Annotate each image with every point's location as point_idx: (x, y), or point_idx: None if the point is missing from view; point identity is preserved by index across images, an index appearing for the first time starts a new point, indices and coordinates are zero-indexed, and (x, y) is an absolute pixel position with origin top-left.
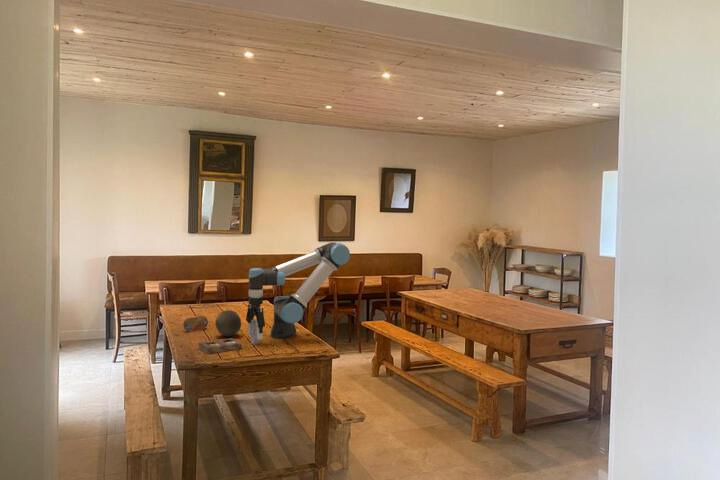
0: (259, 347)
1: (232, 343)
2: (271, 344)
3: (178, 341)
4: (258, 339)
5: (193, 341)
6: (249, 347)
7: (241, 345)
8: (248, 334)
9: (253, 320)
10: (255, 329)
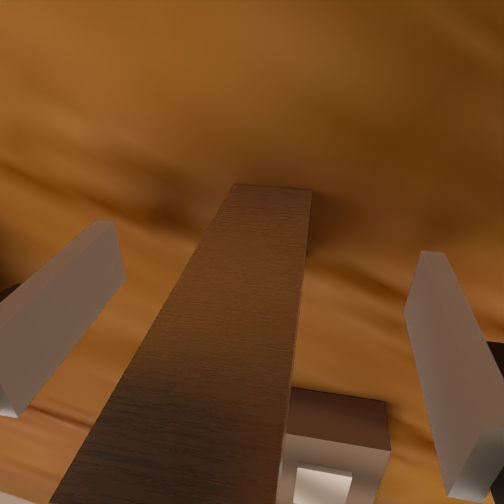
0: (473, 277)
1: (347, 491)
2: (478, 71)
3: (9, 489)
4: (308, 225)
5: (26, 460)
6: (389, 340)
7: (388, 432)
8: (122, 283)
9: None
10: (291, 378)
